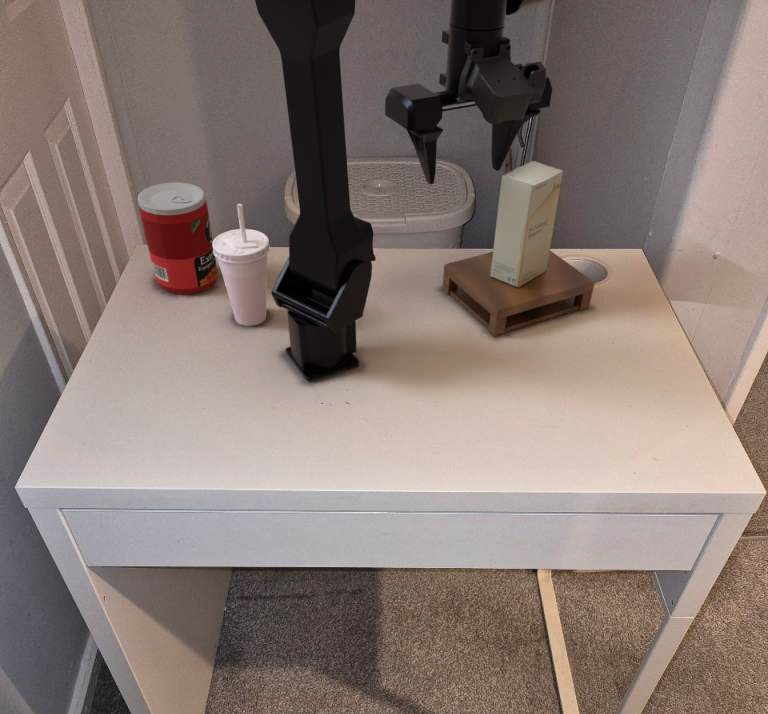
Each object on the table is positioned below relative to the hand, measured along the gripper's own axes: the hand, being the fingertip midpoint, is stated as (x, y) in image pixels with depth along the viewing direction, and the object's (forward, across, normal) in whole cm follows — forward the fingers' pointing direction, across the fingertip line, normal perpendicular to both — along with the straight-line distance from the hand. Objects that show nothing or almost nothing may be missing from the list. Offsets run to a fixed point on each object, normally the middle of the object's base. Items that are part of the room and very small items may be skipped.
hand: (463, 176), depth 90 cm
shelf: (+13, +4, -8) cm, 16 cm away
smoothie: (+13, -27, +2) cm, 31 cm away
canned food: (+13, -31, +14) cm, 37 cm away
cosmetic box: (+10, +4, -8) cm, 13 cm away
